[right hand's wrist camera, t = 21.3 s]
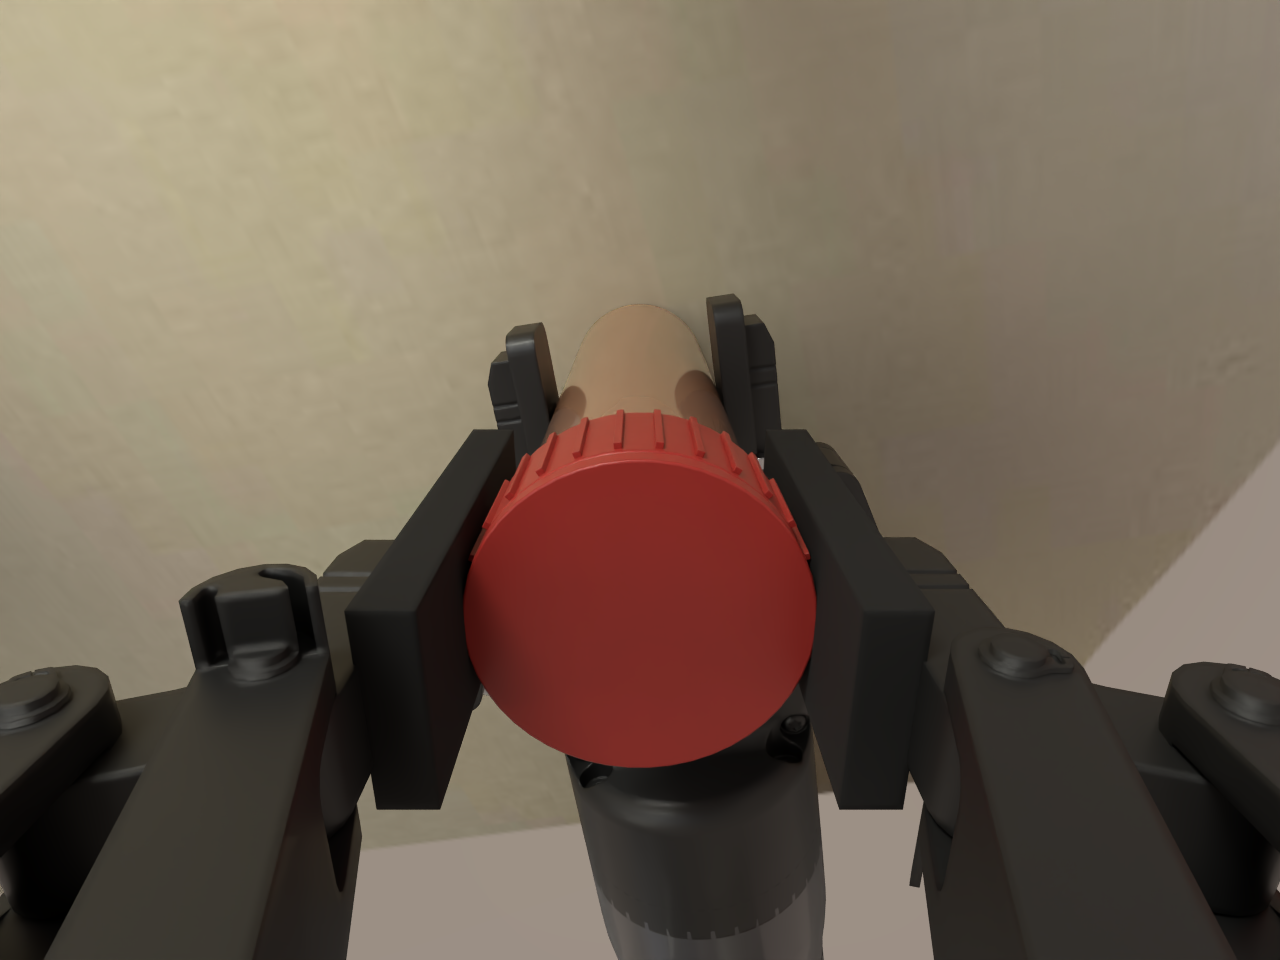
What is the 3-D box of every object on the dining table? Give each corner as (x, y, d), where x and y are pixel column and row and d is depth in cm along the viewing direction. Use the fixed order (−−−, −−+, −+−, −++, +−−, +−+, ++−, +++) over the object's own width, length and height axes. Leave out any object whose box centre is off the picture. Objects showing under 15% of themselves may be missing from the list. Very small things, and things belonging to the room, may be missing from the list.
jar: (575, 303, 25) (483, 455, 10) (704, 304, 25) (797, 455, 10) (579, 427, 26) (503, 713, 12) (700, 427, 26) (775, 714, 12)
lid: (716, 351, 11) (735, 388, 9) (835, 613, 12) (874, 697, 10) (430, 488, 12) (384, 551, 10) (576, 719, 13) (564, 816, 11)
